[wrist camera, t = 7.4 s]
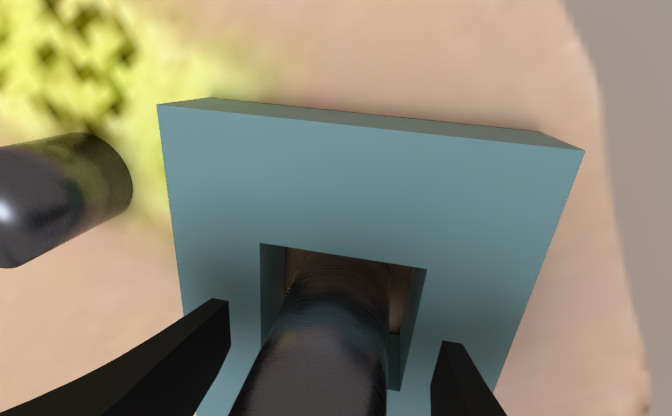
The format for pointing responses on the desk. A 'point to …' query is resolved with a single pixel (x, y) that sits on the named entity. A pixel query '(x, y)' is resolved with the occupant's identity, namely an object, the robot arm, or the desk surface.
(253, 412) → the tall pin
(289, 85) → the desk surface
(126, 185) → the short pin
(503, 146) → the hole block
